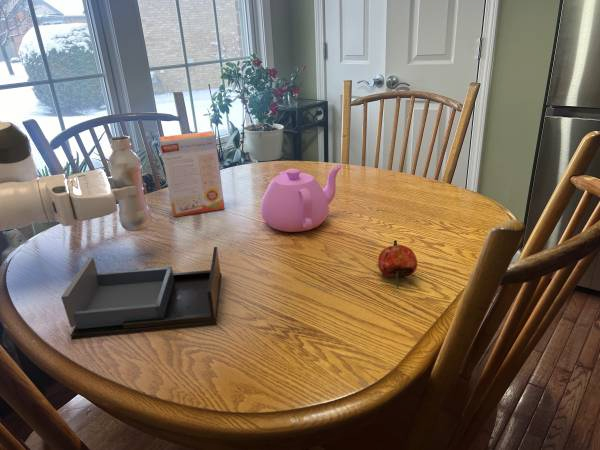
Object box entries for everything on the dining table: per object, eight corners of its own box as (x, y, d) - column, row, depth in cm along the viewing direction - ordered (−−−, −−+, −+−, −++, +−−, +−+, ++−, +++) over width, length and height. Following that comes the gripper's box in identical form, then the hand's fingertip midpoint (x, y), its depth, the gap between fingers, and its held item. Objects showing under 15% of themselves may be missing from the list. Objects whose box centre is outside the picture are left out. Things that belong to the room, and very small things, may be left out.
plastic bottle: (136, 237, 92) (118, 143, 83) (115, 231, 95) (94, 140, 86) (159, 226, 97) (144, 136, 88) (138, 220, 100) (121, 133, 92)
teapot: (361, 229, 106) (363, 175, 100) (276, 246, 100) (272, 189, 94) (325, 199, 125) (325, 152, 119) (252, 212, 118) (247, 162, 113)
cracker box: (221, 202, 126) (212, 130, 117) (225, 209, 121) (216, 134, 112) (171, 209, 122) (158, 135, 113) (173, 217, 117) (159, 140, 108)
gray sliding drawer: (71, 329, 73) (61, 296, 70) (96, 287, 85) (88, 257, 82) (162, 321, 74) (155, 288, 72) (174, 280, 86) (169, 250, 84)
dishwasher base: (71, 339, 72) (60, 305, 69) (100, 286, 87) (92, 256, 84) (216, 325, 74) (211, 291, 71) (221, 276, 89) (217, 246, 86)
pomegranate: (417, 296, 84) (419, 248, 88) (414, 282, 78) (416, 232, 82) (379, 294, 86) (382, 248, 91) (373, 280, 80) (377, 232, 85)
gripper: (62, 196, 96) (128, 185, 102) (66, 230, 79) (145, 214, 85) (55, 168, 93) (123, 158, 99) (57, 197, 77) (139, 183, 83)
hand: (133, 184), depth 92 cm, fingers closed on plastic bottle, 5 cm apart
